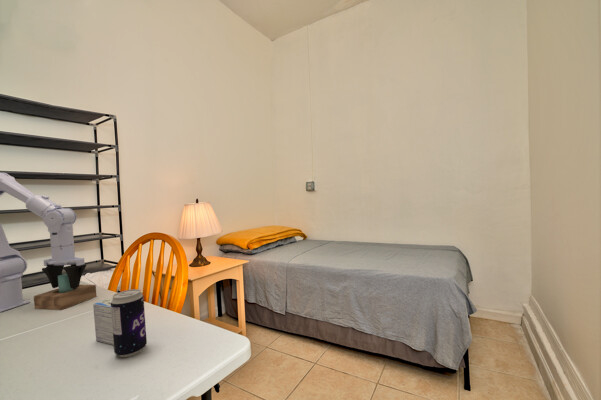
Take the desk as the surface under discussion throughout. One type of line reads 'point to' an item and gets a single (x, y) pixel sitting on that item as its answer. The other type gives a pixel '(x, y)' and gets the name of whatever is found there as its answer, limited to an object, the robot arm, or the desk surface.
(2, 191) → the robot arm
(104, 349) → the desk surface
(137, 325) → the beverage can
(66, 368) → the desk surface
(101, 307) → the medicine box
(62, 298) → the walnut socket block
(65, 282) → the teal peg
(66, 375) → the desk surface
